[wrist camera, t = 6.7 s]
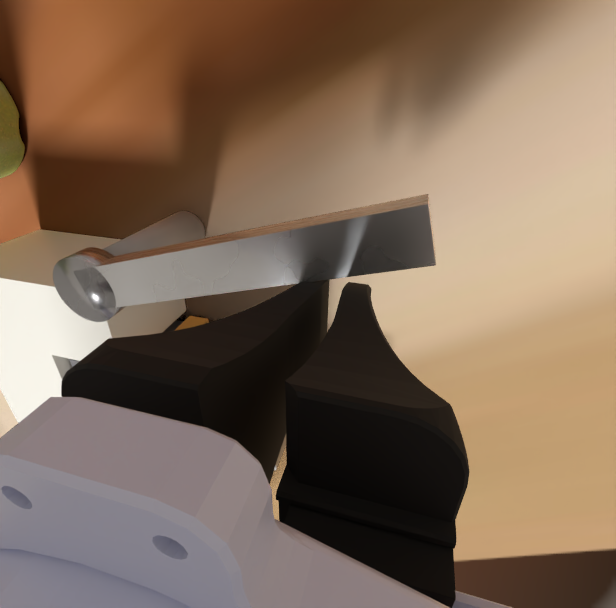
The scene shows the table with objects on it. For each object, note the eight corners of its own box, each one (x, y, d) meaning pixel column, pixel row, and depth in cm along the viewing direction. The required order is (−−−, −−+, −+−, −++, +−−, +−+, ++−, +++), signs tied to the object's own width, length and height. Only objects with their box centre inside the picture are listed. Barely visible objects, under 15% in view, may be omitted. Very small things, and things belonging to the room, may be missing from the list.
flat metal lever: (425, 174, 10) (425, 183, 9) (437, 267, 11) (437, 282, 10) (62, 253, 14) (40, 263, 14) (95, 312, 15) (76, 324, 15)
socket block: (231, 434, 27) (188, 510, 22) (101, 403, 29) (38, 465, 24) (202, 212, 19) (125, 255, 14) (27, 194, 21) (-89, 226, 16)
